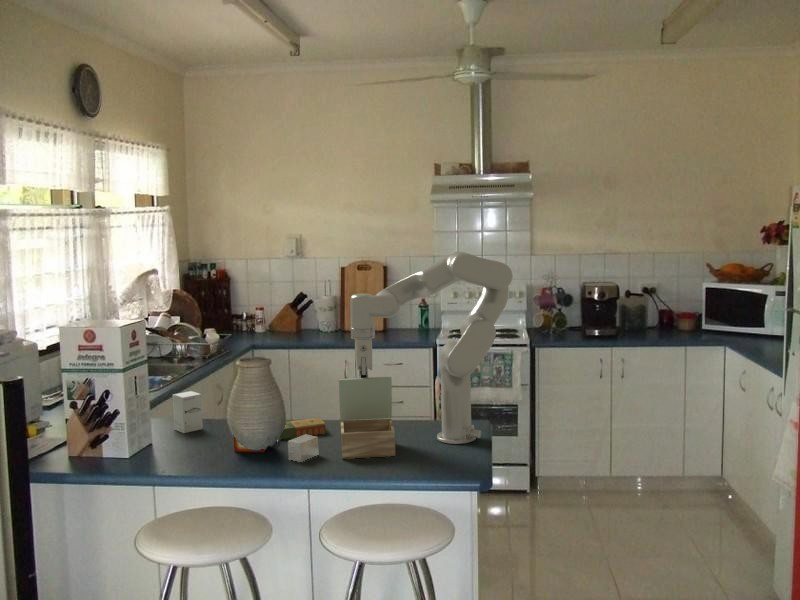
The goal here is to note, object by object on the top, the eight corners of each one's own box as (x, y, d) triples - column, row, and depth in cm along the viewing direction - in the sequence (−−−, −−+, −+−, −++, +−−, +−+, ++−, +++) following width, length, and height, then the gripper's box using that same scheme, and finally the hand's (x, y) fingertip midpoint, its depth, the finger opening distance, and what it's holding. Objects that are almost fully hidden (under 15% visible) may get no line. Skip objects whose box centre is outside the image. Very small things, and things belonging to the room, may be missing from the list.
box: (395, 456, 236) (394, 431, 235) (342, 459, 235) (341, 433, 234) (391, 443, 250) (391, 418, 249) (341, 445, 249) (340, 420, 248)
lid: (391, 377, 244) (391, 376, 245) (338, 380, 243) (338, 378, 243) (391, 418, 249) (391, 416, 250) (340, 420, 248) (340, 419, 249)
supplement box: (183, 434, 266) (181, 397, 264) (173, 429, 271) (171, 394, 270) (203, 429, 271) (201, 393, 269) (193, 425, 276) (191, 390, 275)
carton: (326, 435, 262) (325, 422, 261) (278, 441, 256) (278, 428, 256) (319, 428, 269) (319, 416, 269) (273, 434, 264) (273, 422, 263)
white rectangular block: (318, 455, 240) (318, 436, 239) (301, 463, 233) (300, 443, 232) (306, 453, 242) (305, 434, 242) (288, 460, 236) (287, 440, 235)
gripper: (375, 336, 238) (376, 395, 240) (374, 329, 253) (374, 384, 255) (351, 337, 238) (351, 396, 240) (350, 329, 252) (351, 385, 255)
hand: (363, 390), depth 247 cm, fingers closed
